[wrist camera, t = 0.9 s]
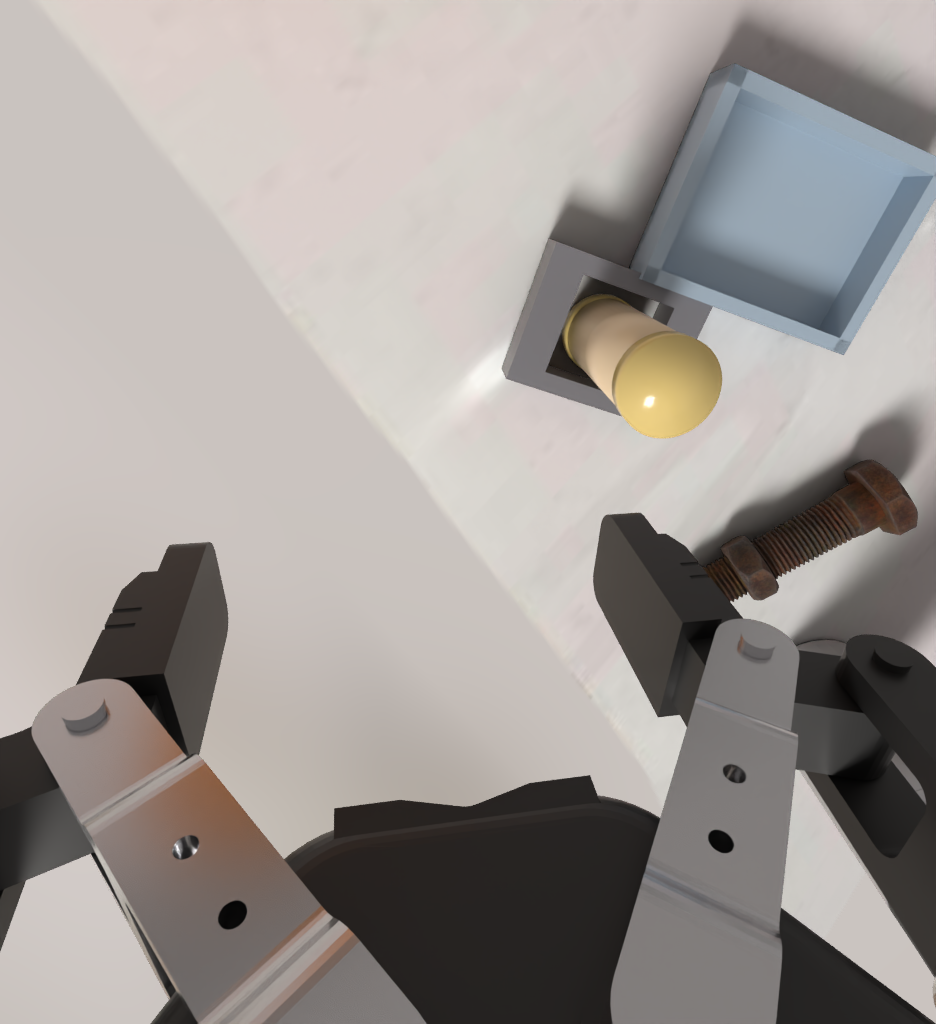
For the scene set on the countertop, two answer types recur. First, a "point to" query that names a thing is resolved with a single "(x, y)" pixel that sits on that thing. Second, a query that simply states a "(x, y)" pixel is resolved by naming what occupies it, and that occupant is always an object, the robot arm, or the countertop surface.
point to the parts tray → (784, 210)
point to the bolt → (815, 532)
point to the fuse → (643, 365)
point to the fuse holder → (552, 307)
